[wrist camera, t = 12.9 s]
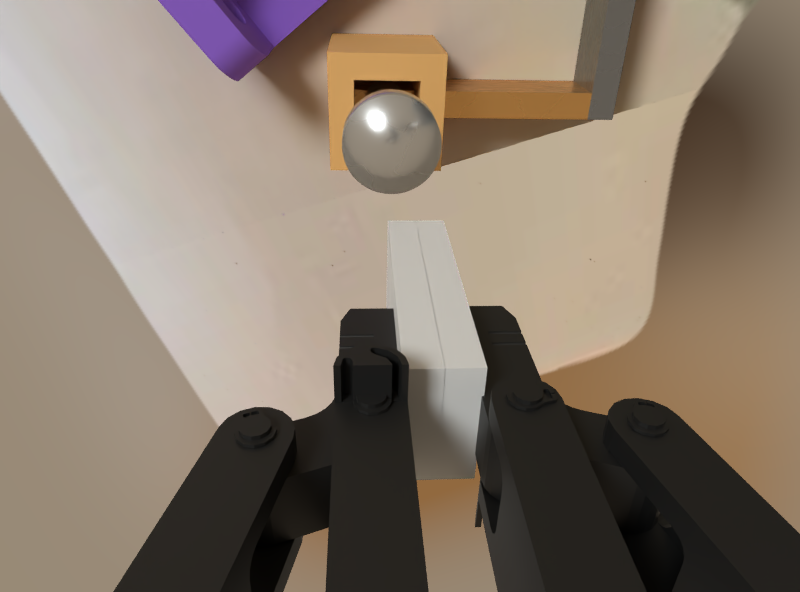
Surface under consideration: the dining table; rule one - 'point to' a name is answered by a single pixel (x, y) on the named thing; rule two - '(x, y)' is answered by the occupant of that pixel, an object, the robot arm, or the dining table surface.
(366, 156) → the round-headed metal pin
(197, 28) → the bracket
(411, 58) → the sleeve
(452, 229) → the dining table surface
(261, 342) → the dining table surface
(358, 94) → the u-shaped frame
